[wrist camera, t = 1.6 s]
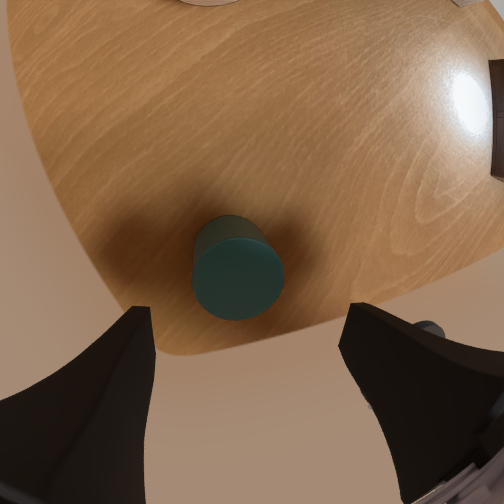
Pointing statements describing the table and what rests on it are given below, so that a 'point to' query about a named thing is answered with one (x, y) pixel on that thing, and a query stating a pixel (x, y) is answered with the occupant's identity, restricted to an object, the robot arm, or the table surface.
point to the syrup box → (465, 2)
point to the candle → (208, 2)
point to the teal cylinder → (235, 269)
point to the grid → (498, 117)
